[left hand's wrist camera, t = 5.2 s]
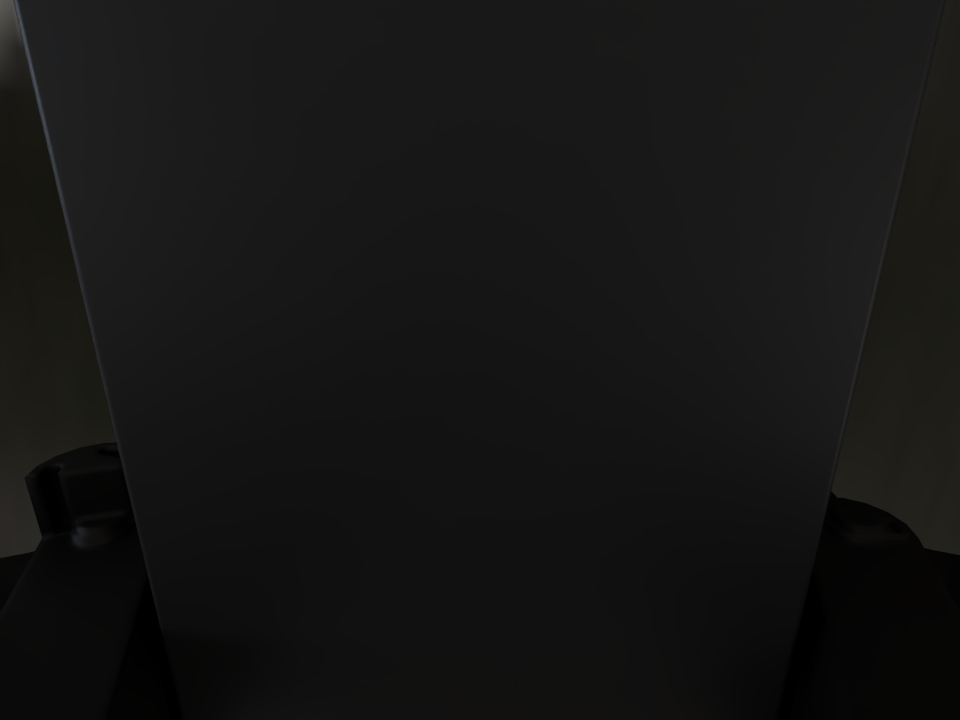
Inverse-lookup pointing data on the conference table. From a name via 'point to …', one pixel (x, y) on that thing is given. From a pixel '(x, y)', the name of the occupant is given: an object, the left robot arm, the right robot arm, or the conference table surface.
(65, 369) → the conference table surface
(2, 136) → the conference table surface
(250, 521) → the bar
